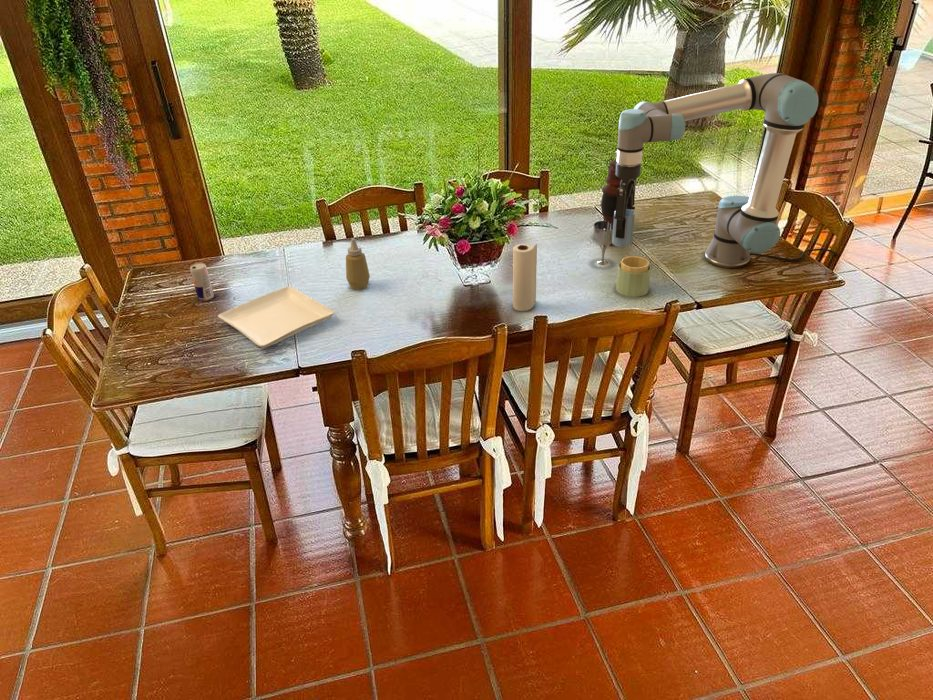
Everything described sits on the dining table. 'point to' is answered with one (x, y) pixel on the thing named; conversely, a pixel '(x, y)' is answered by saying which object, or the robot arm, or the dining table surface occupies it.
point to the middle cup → (634, 264)
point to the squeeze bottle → (356, 267)
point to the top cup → (628, 230)
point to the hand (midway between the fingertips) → (623, 233)
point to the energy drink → (201, 281)
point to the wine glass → (603, 236)
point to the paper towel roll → (524, 276)
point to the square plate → (276, 316)
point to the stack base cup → (632, 282)
